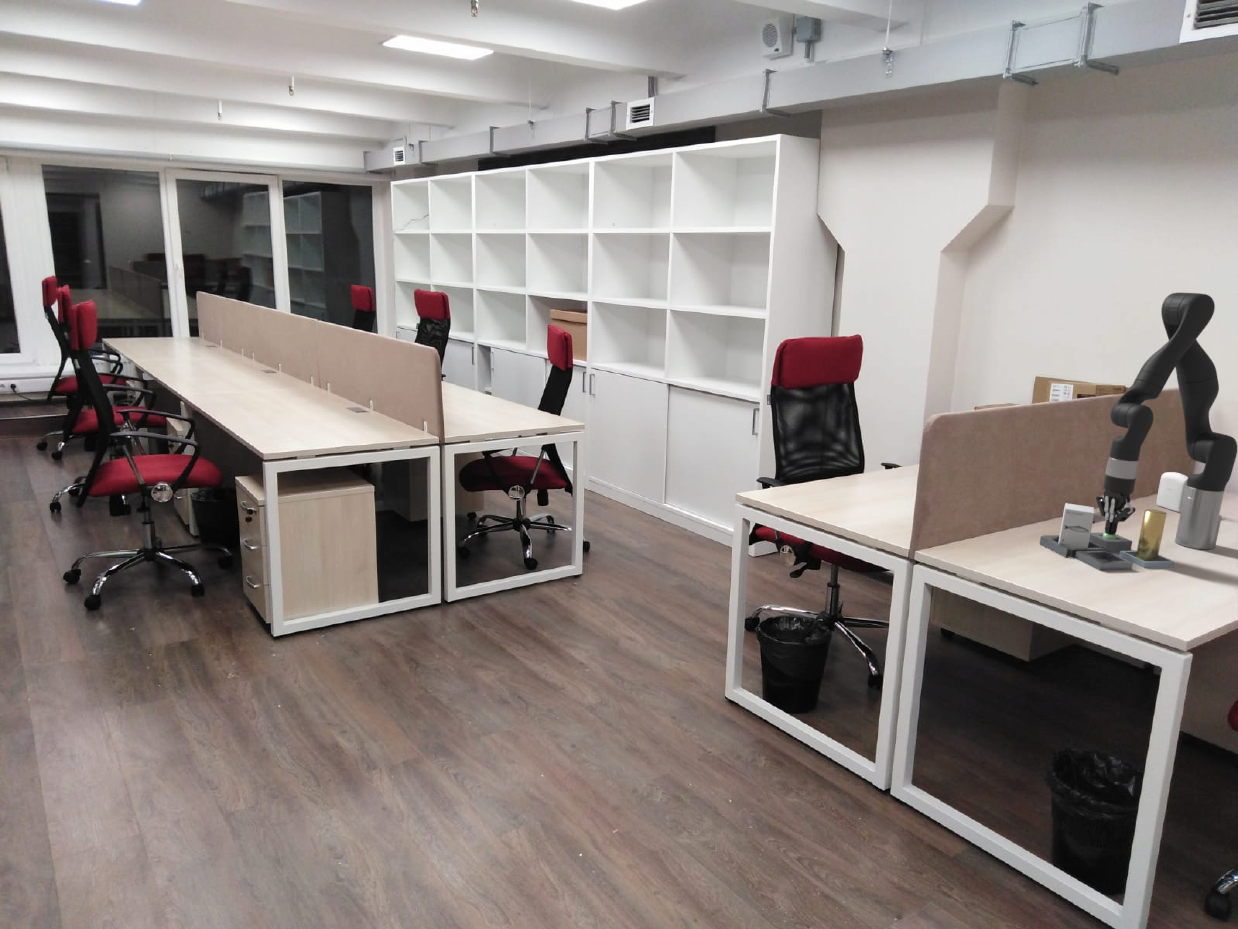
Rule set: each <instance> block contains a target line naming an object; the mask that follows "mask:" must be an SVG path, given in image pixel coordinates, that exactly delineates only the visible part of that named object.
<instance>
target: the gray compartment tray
mask: <svg viewBox="0 0 1238 929" xmlns="http://www.w3.org/2000/svg"><path fill="white" fill-rule="evenodd" d="M1059 536H1060V534H1051V535H1050V534H1048V535H1045V534H1044V535H1041V536H1040V540H1039V544H1040V546H1041V547H1043V546H1044V548H1045V549H1047V548H1048V550H1049V549H1050V550H1049V551H1051V552H1053V551H1055V552H1056V553H1055V552H1054V553H1055V554H1057V553H1058V555H1059V556H1061V555H1062V556H1061V557H1063V556H1064V557H1063V558H1066V559H1069V558H1070V559H1069V560H1071V559H1076V560H1078V561H1079V562H1082V563H1084V564H1085V565H1087V566H1089V567H1092V568H1094V569H1096V570H1097V571H1099V572H1100V571H1101V572H1102V571H1131V570H1132V569H1133V568H1132V567H1133V564H1134V563H1133V562H1131V561H1129V560H1126V559H1124V558H1122V557H1120V556H1119V554H1118V555H1117V554H1116V553H1114V552H1109V551H1107V548H1106V547H1103V546H1101V545H1099V544H1097V543H1095V542H1093V541H1090V540H1089V545H1088V548H1068V547H1066V546H1064V545H1062V544H1060V543H1058V541H1059ZM1101 560H1105V561H1101Z"/></svg>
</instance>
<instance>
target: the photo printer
mask: <svg viewBox="0 0 1238 929" xmlns="http://www.w3.org/2000/svg"><path fill="white" fill-rule="evenodd" d="M1188 477H1189V476H1187V475H1185V474H1184V473H1183V474H1182V473H1179V472H1174V471H1171V472H1170V471H1169V472H1164V473H1163V474H1161V477H1160V481H1159V486H1158V492H1157V497H1156V501H1155V502H1156V503H1155V504H1156V506H1159V507H1162V508H1165V509H1168V510H1172V511H1174V512H1176V513H1181V508H1182V503H1183V498H1184V493H1185V488H1186V483H1187V479H1188Z"/></svg>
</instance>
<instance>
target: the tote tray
mask: <svg viewBox="0 0 1238 929" xmlns="http://www.w3.org/2000/svg"><path fill="white" fill-rule="evenodd" d="M1136 553H1137V550H1131V551H1120V552H1119V554H1118V556H1120V557H1122V558H1124V559H1126V560H1129V561H1131V562H1133V564H1134V565H1137V566H1139V567H1141V568H1143V569H1151V568H1174V567H1175V561H1174V560H1172V559H1169V558H1167V557H1165V556H1162V555H1160V554H1158V559H1157V561H1143V560H1141V559H1139V558H1136Z"/></svg>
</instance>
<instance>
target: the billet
mask: <svg viewBox="0 0 1238 929" xmlns="http://www.w3.org/2000/svg"><path fill="white" fill-rule="evenodd" d="M1143 513H1144V514H1143V518H1142V523H1141V528H1140V533H1139V537H1138V544H1137V548H1136V551H1137V553H1136V558H1139V559H1141V560H1143V561H1157V559H1158V555H1160V549H1161V544H1162V539H1163V534H1164V528H1165V524H1166V519H1167V512H1165V511H1162V510H1159V509H1151V508H1146V509H1144V512H1143Z"/></svg>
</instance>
